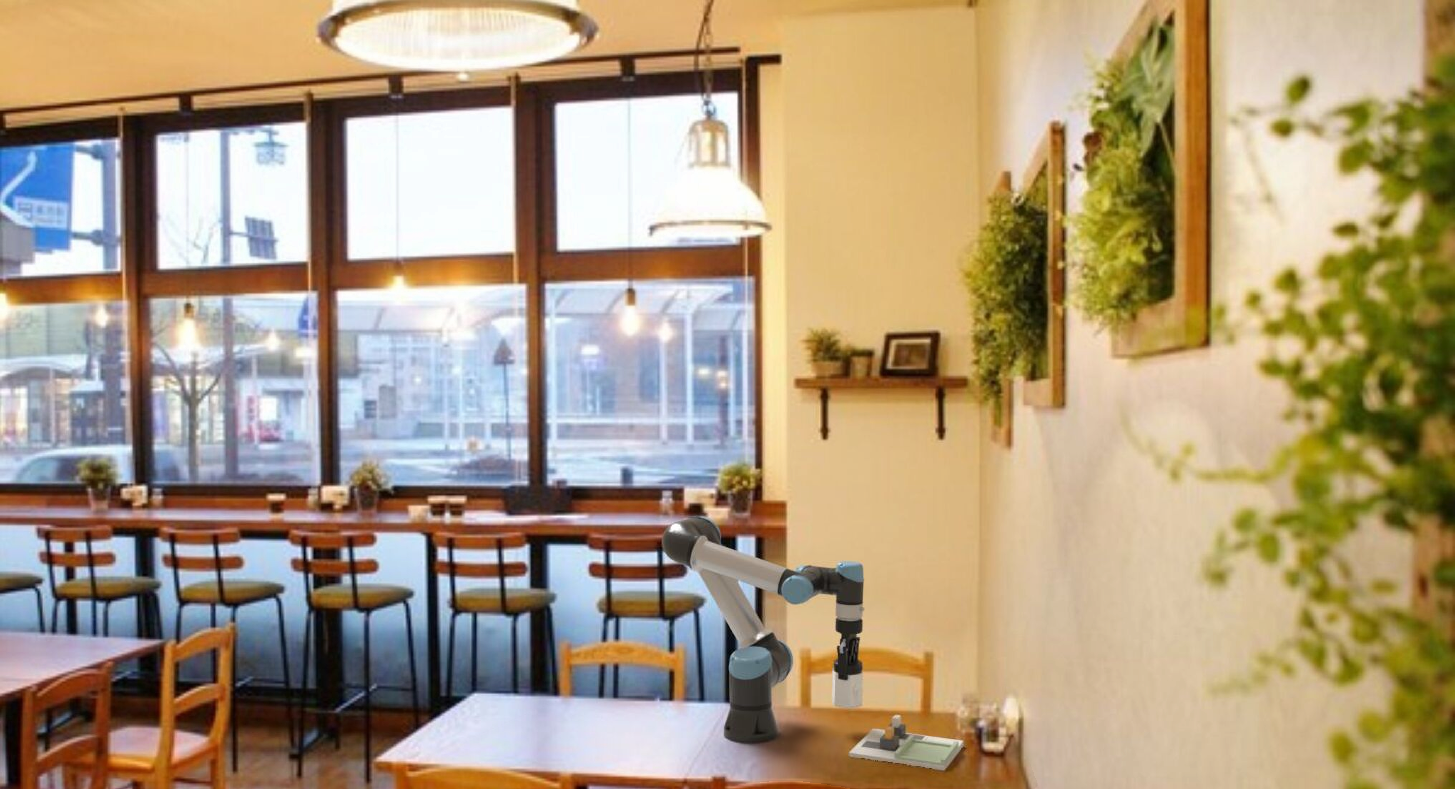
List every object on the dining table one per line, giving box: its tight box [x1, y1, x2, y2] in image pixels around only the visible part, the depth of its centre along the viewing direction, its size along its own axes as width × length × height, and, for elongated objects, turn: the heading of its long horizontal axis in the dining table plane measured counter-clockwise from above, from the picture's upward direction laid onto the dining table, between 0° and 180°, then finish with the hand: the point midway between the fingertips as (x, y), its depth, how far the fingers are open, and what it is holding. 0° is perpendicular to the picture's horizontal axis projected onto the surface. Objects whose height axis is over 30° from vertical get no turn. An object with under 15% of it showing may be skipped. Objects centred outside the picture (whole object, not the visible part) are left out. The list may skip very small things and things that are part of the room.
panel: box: [848, 728, 964, 772], centre depth 284 cm, size 25×21×3 cm
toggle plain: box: [888, 714, 907, 738], centre depth 293 cm, size 4×4×5 cm
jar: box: [831, 658, 864, 710], centre depth 301 cm, size 9×8×12 cm
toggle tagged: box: [880, 725, 899, 750], centre depth 283 cm, size 4×4×5 cm
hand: (847, 701), depth 301 cm, fingers closed on jar, 2 cm apart
